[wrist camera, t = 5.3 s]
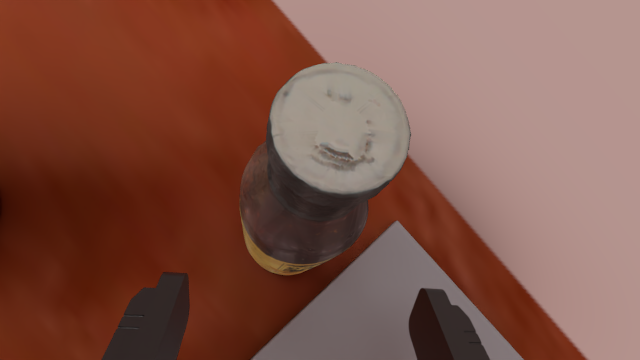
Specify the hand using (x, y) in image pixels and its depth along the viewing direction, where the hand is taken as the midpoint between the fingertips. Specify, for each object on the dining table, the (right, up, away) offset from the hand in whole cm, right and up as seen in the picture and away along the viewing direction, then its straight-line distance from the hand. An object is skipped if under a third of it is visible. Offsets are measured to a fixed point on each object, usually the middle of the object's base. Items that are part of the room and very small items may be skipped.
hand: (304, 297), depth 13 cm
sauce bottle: (-2, 0, +16) cm, 16 cm away
